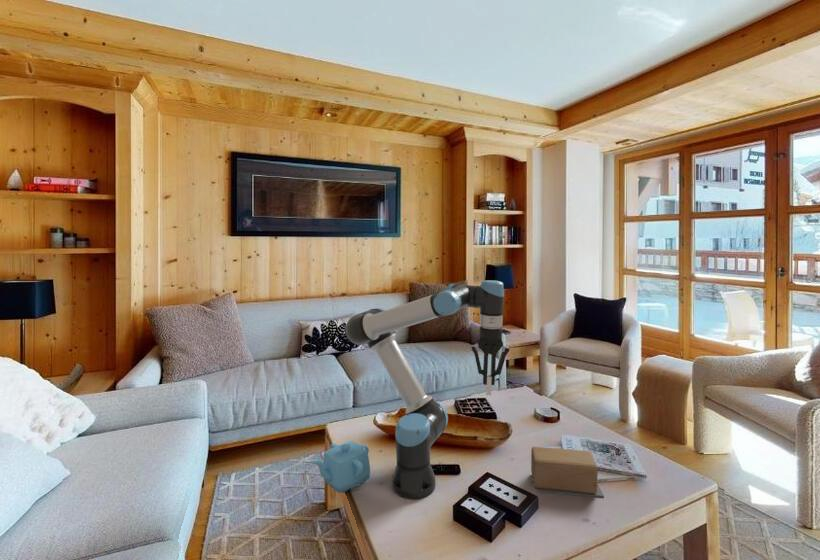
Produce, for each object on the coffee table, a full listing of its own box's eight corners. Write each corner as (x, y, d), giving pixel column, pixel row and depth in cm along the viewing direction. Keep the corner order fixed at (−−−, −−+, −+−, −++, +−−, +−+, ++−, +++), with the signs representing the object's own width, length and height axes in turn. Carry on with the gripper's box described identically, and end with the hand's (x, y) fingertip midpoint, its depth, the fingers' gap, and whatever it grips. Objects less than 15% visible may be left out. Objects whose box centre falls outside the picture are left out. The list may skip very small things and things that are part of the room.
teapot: (333, 466, 147) (332, 432, 146) (375, 469, 144) (374, 435, 143) (313, 497, 129) (311, 459, 128) (360, 502, 126) (358, 463, 125)
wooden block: (533, 488, 131) (597, 495, 127) (534, 460, 130) (598, 466, 126) (530, 471, 140) (590, 477, 136) (531, 445, 139) (590, 450, 135)
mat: (540, 492, 129) (540, 491, 129) (532, 466, 144) (532, 465, 144) (603, 497, 126) (603, 495, 126) (589, 470, 141) (589, 468, 141)
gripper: (471, 328, 127) (469, 397, 130) (512, 330, 126) (509, 399, 129) (470, 323, 135) (468, 388, 138) (509, 324, 133) (506, 390, 136)
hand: (488, 393), depth 133 cm, fingers closed
